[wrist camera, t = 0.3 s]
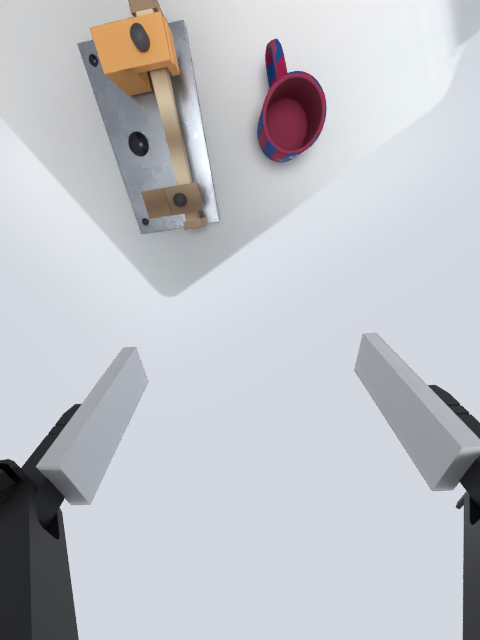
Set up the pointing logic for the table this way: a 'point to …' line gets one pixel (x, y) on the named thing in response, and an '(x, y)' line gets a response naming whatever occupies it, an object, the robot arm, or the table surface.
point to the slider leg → (135, 50)
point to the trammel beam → (171, 148)
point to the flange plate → (153, 134)
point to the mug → (289, 109)
